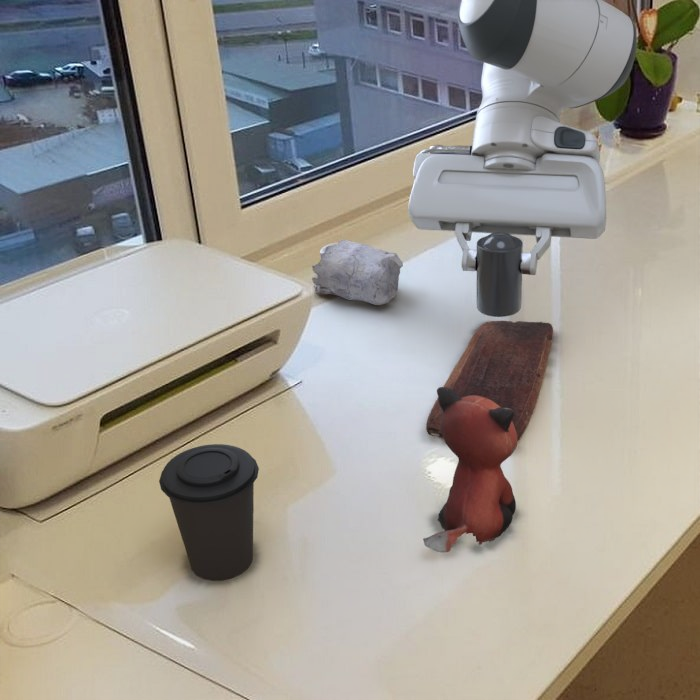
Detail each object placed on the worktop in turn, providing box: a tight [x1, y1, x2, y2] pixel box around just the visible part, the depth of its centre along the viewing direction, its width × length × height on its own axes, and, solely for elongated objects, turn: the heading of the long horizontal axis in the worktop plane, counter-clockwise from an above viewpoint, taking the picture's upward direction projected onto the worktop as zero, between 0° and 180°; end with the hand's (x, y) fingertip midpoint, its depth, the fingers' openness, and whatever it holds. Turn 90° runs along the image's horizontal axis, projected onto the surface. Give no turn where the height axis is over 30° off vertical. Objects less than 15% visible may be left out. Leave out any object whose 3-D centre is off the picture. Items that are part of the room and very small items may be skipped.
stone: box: [311, 238, 404, 306], centre depth 134 cm, size 8×12×7 cm, turn 60°
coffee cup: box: [158, 443, 260, 581], centre depth 89 cm, size 8×8×10 cm
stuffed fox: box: [422, 386, 518, 553], centre depth 90 cm, size 8×11×12 cm
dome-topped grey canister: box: [476, 232, 524, 318], centre depth 109 cm, size 5×5×8 cm
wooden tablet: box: [425, 320, 554, 443], centre depth 114 cm, size 26×2×10 cm
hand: (498, 271), depth 108 cm, fingers closed on dome-topped grey canister, 4 cm apart
